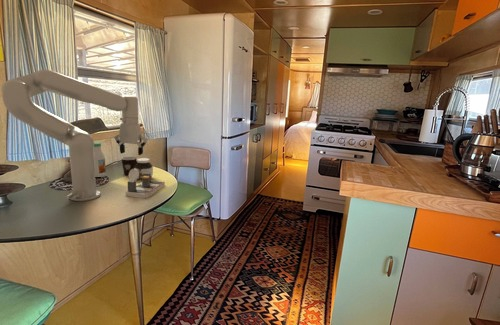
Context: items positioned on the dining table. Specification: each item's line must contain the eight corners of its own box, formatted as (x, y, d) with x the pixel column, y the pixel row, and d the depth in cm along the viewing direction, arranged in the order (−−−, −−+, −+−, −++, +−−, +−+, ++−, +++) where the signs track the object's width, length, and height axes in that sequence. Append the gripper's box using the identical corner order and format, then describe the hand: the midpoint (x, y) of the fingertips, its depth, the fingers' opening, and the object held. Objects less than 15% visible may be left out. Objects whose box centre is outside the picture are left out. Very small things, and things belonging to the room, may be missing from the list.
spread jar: (154, 176, 165) (154, 158, 163) (147, 182, 154) (146, 162, 152) (135, 175, 166) (134, 157, 163) (126, 181, 155) (125, 161, 152)
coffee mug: (119, 174, 165) (118, 158, 163) (128, 171, 173) (128, 156, 171) (134, 177, 162) (134, 161, 160) (144, 173, 170) (143, 158, 168)
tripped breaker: (147, 186, 140) (147, 177, 139) (142, 186, 140) (142, 177, 139) (150, 185, 143) (149, 176, 141) (144, 184, 143) (144, 175, 142)
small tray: (146, 198, 132) (146, 184, 130) (125, 195, 133) (125, 182, 131) (164, 185, 151) (164, 173, 150) (146, 183, 152) (145, 171, 151)
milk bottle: (94, 179, 155) (91, 144, 150) (89, 175, 160) (86, 142, 155) (108, 176, 160) (106, 143, 156) (103, 173, 165) (100, 141, 161)
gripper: (109, 120, 133) (111, 153, 137) (143, 122, 132) (144, 156, 136) (118, 119, 141) (119, 151, 145) (150, 121, 139) (150, 153, 143)
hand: (131, 153), depth 140 cm, fingers open, 9 cm apart
